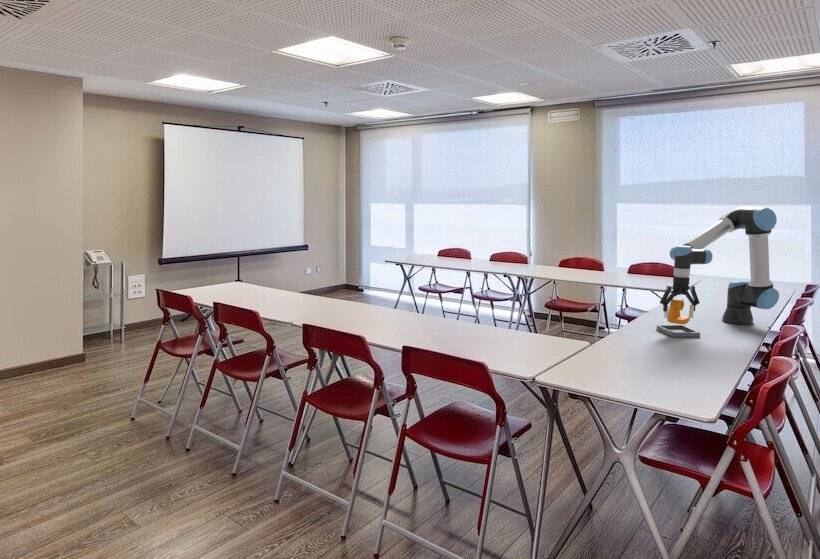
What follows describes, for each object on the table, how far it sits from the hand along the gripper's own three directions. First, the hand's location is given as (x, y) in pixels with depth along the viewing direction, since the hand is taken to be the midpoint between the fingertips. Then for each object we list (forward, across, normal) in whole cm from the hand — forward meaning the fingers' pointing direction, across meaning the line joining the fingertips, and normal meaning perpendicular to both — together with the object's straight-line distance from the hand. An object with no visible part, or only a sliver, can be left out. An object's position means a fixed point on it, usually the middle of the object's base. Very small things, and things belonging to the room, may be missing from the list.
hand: (678, 317), depth 291 cm
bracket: (+3, 0, 0) cm, 3 cm away
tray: (+8, 0, 0) cm, 8 cm away
